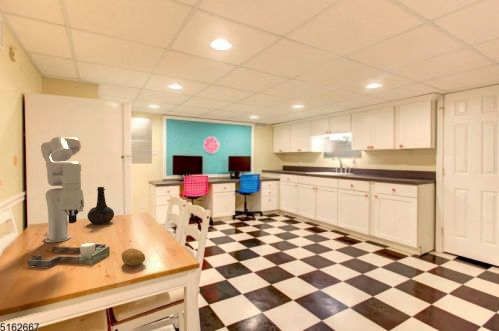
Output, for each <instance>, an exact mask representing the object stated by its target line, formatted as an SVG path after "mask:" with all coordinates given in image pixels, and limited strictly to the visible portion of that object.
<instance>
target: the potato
mask: <svg viewBox="0 0 499 331" xmlns="http://www.w3.org/2000/svg"><path fill="white" fill-rule="evenodd" d="M121 261H122V262H123V264H125V265H128V266H132V267H133V266H134V267H135V266H139V265H142V264H143V263H144V262H145V261H146V255H145V254H144V253H143V251H141V250H140V249H137V248H128V249H125V250H124V251H123V252H122V253H121Z"/></svg>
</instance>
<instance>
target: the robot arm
mask: <svg viewBox="0 0 499 331" xmlns="http://www.w3.org/2000/svg"><path fill="white" fill-rule="evenodd" d="M81 146H82V145H81V141H80V140H79V138H77V137H74V136H73V137H72V136H71V137H69V136H55V137H53V138H51V140H50V141H45V142H43V143H42V144H41V146H40V151H41V155H42V158H43V159H44V161H45V166H46V167H45V168H46V174H47V175H46V177H47V183H48V185H49V186H51V187H55V188H50V189H48V190H46V193H45V201H46V206H47V220H48V222H47V223H48V226H47V228H48V229H47V230H48V231H46V232H45V233H44V234H43V237H46V238H45V242H46V243H60V242H64V241H68V240H70V239H71V238H72V235H70V234H69V233H68V232H69V231H68V230H69V229H68V223H69V224H75V223H77V221H78V220H77V215H78V214H79V213H80V212H83V211H84V209H83V208H84V206H85V197H84V192H83V189H82V183H81V182H82V181H81V180H82V178H81V176H82V165H81V164H80V162H78V161H77V160H76V161H75V160H70V159H71V158H72V156H75V155H77V154H78V153H79V152H80V150H81ZM68 160H69V161H68ZM57 187H58V188H57Z"/></svg>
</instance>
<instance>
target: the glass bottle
mask: <svg viewBox="0 0 499 331" xmlns="http://www.w3.org/2000/svg"><path fill="white" fill-rule="evenodd" d="M106 189H107V188H106ZM106 189H105V187H104V186H98V187H97V189H96V191H97V199H96V201H97V202H96V206H95V207H92V208H91V209H89V211H88V213H87V220H88V221H89V222H90V223H91V224H93V225H98V226H99V225H106V224H109V223H110V222H111V221H112V220H113V219H114V217H115V211H114V210H113V209H112V208H111V207H109V206H108V205H107V200H106V197H105V190H106Z"/></svg>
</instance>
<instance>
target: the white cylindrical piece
mask: <svg viewBox="0 0 499 331" xmlns="http://www.w3.org/2000/svg"><path fill="white" fill-rule="evenodd" d="M96 244H97V243H96V242H85V243H82V244H80V245H79V247H80V253H79V254H80V256H82V257H91V255H92V254H94V253H96V250H95V245H96Z"/></svg>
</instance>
